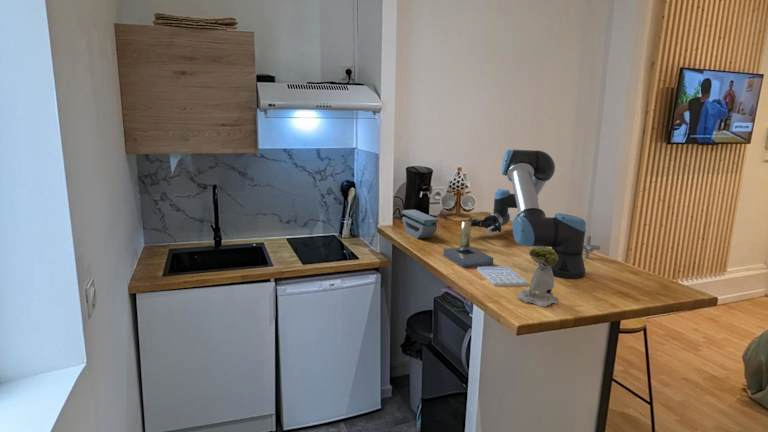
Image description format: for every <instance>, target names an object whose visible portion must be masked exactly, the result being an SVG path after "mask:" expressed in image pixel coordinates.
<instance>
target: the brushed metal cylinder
mask: <svg viewBox="0 0 768 432" xmlns="http://www.w3.org/2000/svg"><path fill="white" fill-rule="evenodd" d="M461 224H462V225H460V230H461V231H460V242H459V243H460V244H459V248H460V247H471V233H472V227H471V222H469V221H466V220H462V221H461Z"/></svg>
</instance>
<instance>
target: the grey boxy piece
mask: <svg viewBox="0 0 768 432" xmlns="http://www.w3.org/2000/svg"><path fill="white" fill-rule="evenodd" d="M401 214H403V215H404V216H402V224H403V227H404V229H405V233H406V234H407V235H409V236H410V237H413V238H415V239H416V240H418V239H431V238H432V237H433V235H434V234H435V233H436V231H437V230H438V225H437V224H435V223H439V219H438V218H436V217H434V216H432V215H429V214H426V213H424V212H421V210H417V209H404V210H403V209H402V210H401Z"/></svg>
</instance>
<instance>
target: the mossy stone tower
mask: <svg viewBox="0 0 768 432" xmlns="http://www.w3.org/2000/svg"><path fill="white" fill-rule="evenodd" d="M528 254H529V255H530V258H531V260H533V262H535V263H537V264H538V266H537V267H536V269H535V270H534V272H533V275H532V278H531V281H530V284H529V289H523V290H521V291H520V293H517V297H518V298H519V299H520V300H522V301H523V302H522V303H524V304H525V303H526V304H527V303H529V304H530V303H531V304H534V305H535V306H538V307H548V306H550V305H552V306H554V304H555V305H556V304H559V303H558V302H559V298H557V297H556V296H554V293H553V292H552V290H553V289H554V287H555V280H556V278H555V276H553V272H552V269H551V266H554V265H555V263H556V262H557V261H558V256H557V254H556V252H555V251H554V250H553V249H552V247H542V246H541V247H536V246H532V248H531V249H530V251H529V253H528ZM553 303H554V304H553Z"/></svg>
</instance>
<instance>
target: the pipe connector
mask: <svg viewBox="0 0 768 432" xmlns="http://www.w3.org/2000/svg"><path fill="white" fill-rule="evenodd" d="M591 241H592V236H591V235H586V238H585V241H584V247H583V250H584V256H583V257H585V258H584V259H587V258H588V259H589V257H590V253H593V252H594V250H596V251H597V250H599V251H600V250H601V246H600V245H593V244H591V243H592V242H591Z"/></svg>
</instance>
